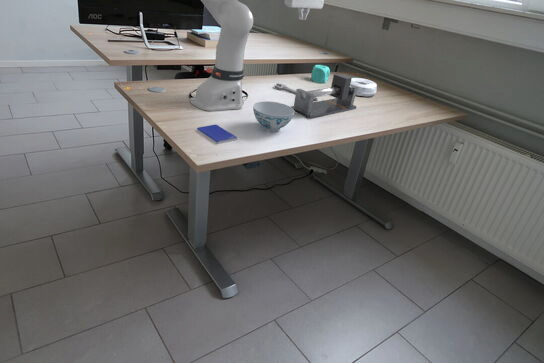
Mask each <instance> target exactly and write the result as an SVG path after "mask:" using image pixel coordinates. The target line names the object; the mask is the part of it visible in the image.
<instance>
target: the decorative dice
mask: <svg viewBox="0 0 544 363" xmlns="http://www.w3.org/2000/svg"><path fill="white" fill-rule="evenodd" d="M330 73H331V69H330V67H329V66H327V65H323V64H315V65H314V66H313V68H312V71H311V73H310V74H311V75H310V79H311V80H312V82H314V83H317V84H326V83H327V82H328V80H329V77H330Z"/></svg>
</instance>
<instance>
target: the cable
mask: <svg viewBox="0 0 544 363" xmlns="http://www.w3.org/2000/svg"><path fill="white" fill-rule="evenodd" d="M351 78H352V79H351V84H350V85H353V86H355V87H357V91H356V95H355V96H361V97H374V95H375V94H376V93H377V87H378V84H377V83H376V82H375V81H373V80H370V79H367V78H361V77H351Z"/></svg>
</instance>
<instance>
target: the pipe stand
mask: <svg viewBox="0 0 544 363" xmlns="http://www.w3.org/2000/svg"><path fill="white" fill-rule="evenodd" d="M295 90H296V94H295V95H294V96H295V97H294V103H293V105H292V106H290V107H291V108H293V109H294V113H297V114H298V115H301V116H302V117H304V118H307V119H309V120H312V119H317V118H321V117H326V116H330V115H334V114H339V113H343V112H349V111H353V110H356V109H357V105H354V102H355V98H356V96H357V95H356V91H357V87H355V86H353V85H350V88H349V92H348V96H347V99H344V100H340V99H338V98H335V97H334V98H330V99H324V100H319V101H313V98H314V97H315V98H319V97H325V96H330V95H331V94H337V93H338V94H340V92H341V87H340V86H337V87H331V86H330V87H325V88H319V89H318V88H317V89H313V90H304V89H302V88H296V89H295Z"/></svg>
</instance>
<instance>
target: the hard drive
mask: <svg viewBox="0 0 544 363" xmlns="http://www.w3.org/2000/svg"><path fill="white" fill-rule="evenodd" d="M196 131H197V132H198V133H200V134H202V135H203V136H205V137H206V138H207V139H209V140H211V141H212V142H213V143H215V144H217V145H221V144H225V143H229V142H234V141H238V138H239V137H238V136H236V135H234V134H233V133H231V132H230V131H227V130H226V129H225V128H223V127H221V126H220V125H219V124H217V123H216V124H210V125H206V126H205V125H204V126H199V127H197V128H196Z"/></svg>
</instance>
